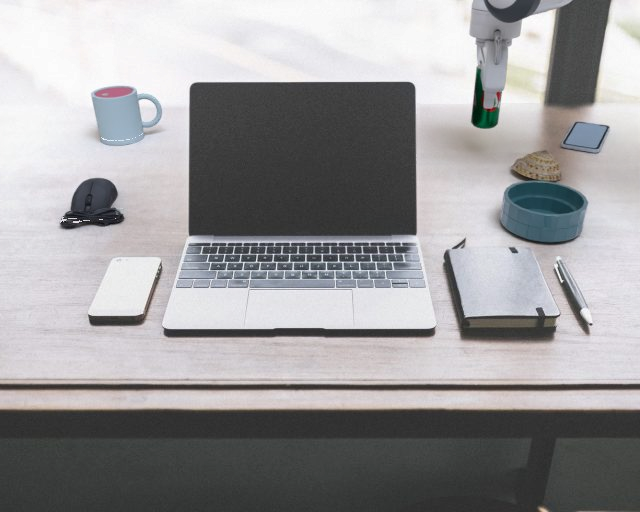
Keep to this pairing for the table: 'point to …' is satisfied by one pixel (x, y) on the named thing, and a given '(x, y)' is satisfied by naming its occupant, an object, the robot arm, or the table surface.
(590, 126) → the smartphone
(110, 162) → the table surface
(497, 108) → the soda can
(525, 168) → the seashell
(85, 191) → the computer mouse
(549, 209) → the bowl
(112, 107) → the mug
